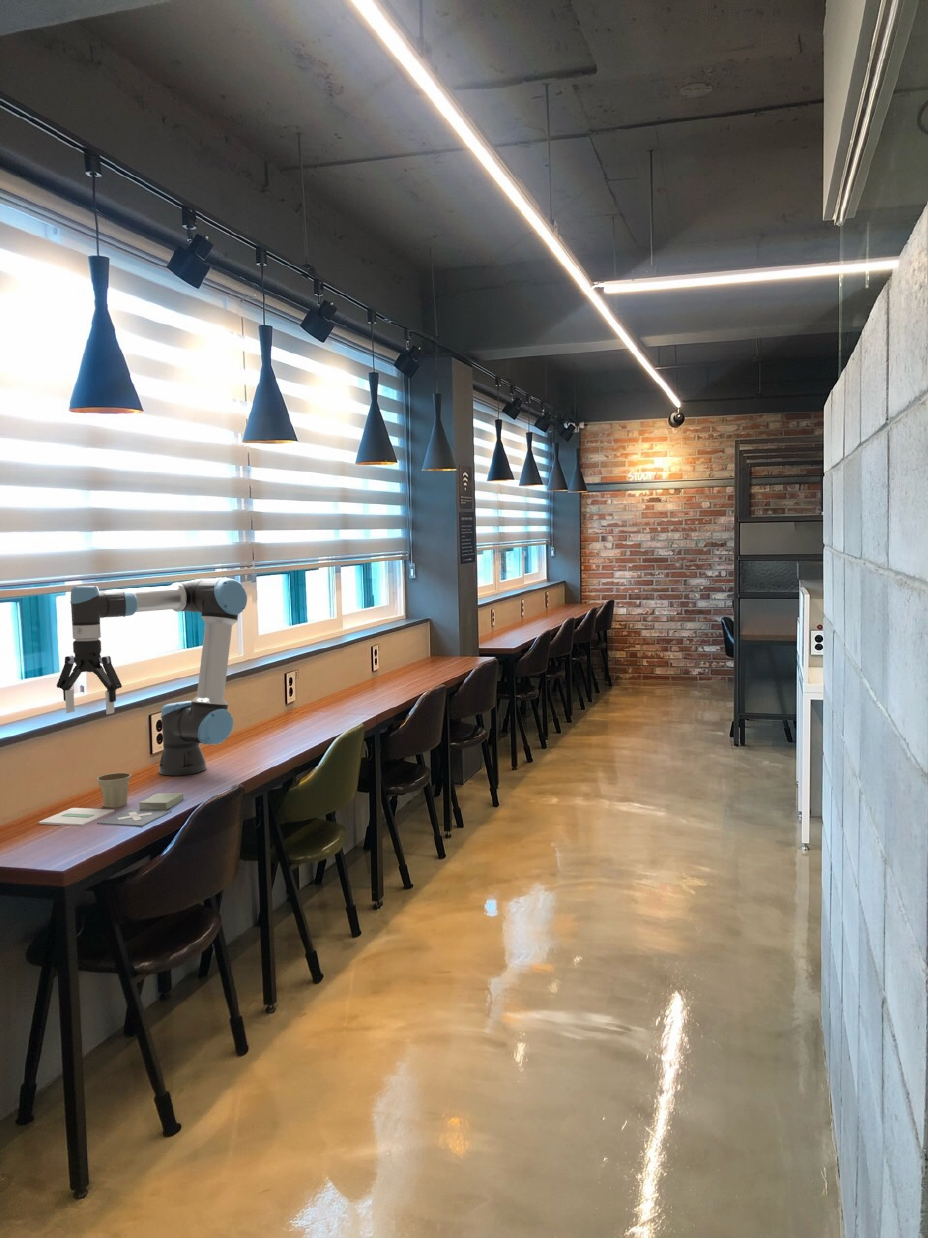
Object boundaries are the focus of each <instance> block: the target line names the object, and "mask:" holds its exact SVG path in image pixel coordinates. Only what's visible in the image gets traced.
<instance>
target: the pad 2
mask: <svg viewBox="0 0 928 1238" xmlns="http://www.w3.org/2000/svg"><path fill="white" fill-rule="evenodd" d="M172 812H173V811H172V810H169V809H167V810H140V809H139V808H131V807H130V808H129V807H128V808H126V809H124V810H122V811H120V812H118V813H115V814H113V815H111V816H109V817H107V818H105V819H102V820H100V821H98V822H96V824H97V825H106V826H107V825H109V826H111V825H112V826H129V827H140V828H143V827H144V826H146V825H148V824H151V823H153V822H154V821H156V820H158V819H160V818H163V817H164V816H167V815H168V814H171V813H172Z"/></svg>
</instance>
